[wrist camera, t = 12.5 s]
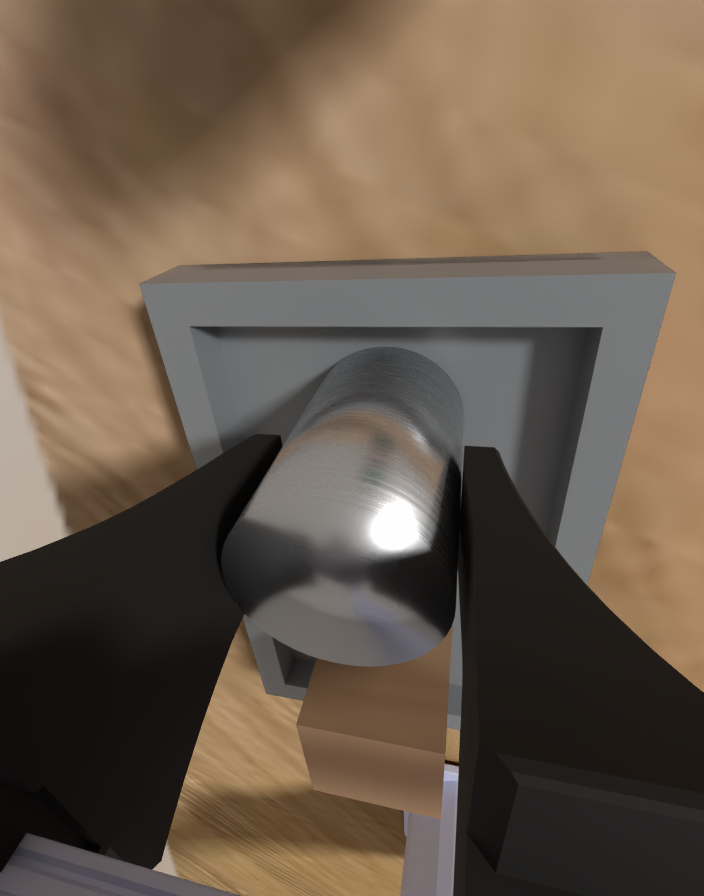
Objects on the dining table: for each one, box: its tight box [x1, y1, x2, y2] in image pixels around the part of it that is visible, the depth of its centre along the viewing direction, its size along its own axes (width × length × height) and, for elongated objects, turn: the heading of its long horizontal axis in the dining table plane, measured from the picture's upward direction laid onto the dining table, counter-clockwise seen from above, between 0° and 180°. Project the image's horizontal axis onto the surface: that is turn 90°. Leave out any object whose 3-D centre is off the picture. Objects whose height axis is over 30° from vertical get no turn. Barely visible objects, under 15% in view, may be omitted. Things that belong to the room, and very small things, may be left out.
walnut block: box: [296, 624, 453, 819], centre depth 16 cm, size 4×4×5 cm
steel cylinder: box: [221, 347, 464, 667], centre depth 10 cm, size 4×4×6 cm
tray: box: [139, 252, 676, 730], centre depth 15 cm, size 17×11×2 cm, turn 4°
